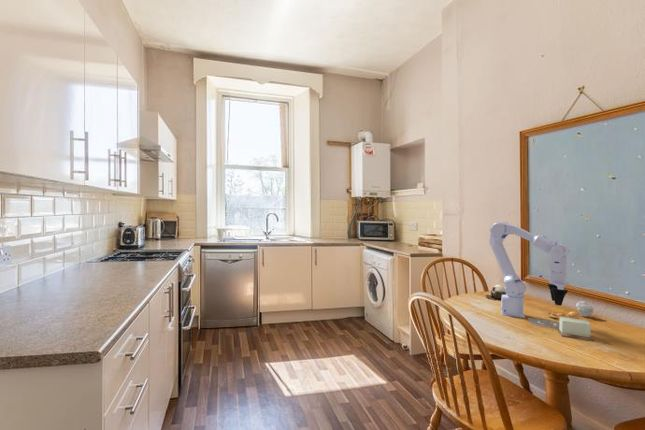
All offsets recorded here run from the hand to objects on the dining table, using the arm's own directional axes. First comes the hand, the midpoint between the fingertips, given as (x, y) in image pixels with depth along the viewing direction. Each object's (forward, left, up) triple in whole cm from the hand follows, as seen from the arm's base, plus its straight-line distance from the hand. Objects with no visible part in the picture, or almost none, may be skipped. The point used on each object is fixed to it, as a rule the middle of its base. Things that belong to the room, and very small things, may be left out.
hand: (556, 302), depth 149 cm
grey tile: (-3, -1, -9) cm, 10 cm away
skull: (-21, +38, -10) cm, 44 cm away
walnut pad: (+4, -12, -9) cm, 16 cm away
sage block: (+4, -12, -9) cm, 15 cm away
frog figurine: (+15, +21, -10) cm, 27 cm away
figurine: (+11, +11, -9) cm, 17 cm away
